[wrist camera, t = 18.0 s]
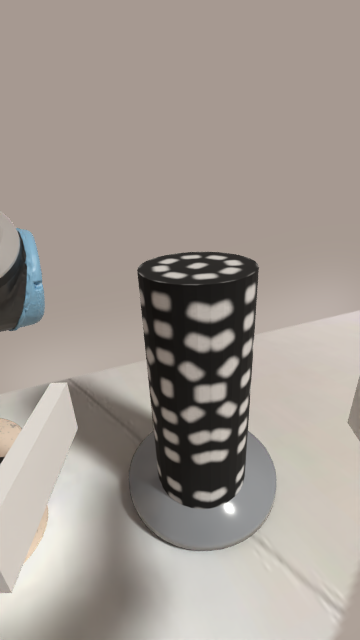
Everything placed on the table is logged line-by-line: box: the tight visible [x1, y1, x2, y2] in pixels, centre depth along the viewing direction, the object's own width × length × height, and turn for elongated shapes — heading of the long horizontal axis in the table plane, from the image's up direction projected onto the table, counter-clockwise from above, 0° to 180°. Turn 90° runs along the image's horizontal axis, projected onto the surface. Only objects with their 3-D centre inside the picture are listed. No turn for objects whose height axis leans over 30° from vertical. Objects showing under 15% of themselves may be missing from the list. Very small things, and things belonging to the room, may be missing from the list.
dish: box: [129, 431, 276, 551], centre depth 31 cm, size 14×14×2 cm
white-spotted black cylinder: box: [137, 252, 259, 509], centre depth 26 cm, size 8×8×20 cm
